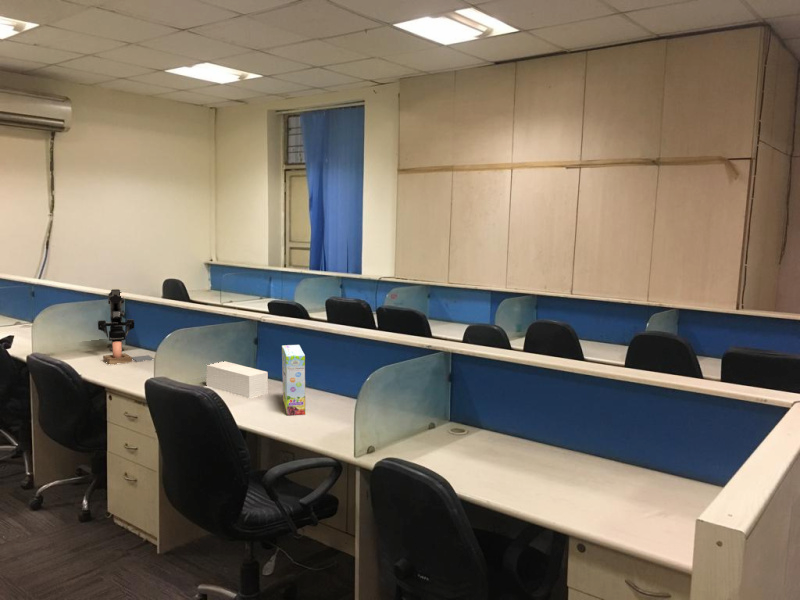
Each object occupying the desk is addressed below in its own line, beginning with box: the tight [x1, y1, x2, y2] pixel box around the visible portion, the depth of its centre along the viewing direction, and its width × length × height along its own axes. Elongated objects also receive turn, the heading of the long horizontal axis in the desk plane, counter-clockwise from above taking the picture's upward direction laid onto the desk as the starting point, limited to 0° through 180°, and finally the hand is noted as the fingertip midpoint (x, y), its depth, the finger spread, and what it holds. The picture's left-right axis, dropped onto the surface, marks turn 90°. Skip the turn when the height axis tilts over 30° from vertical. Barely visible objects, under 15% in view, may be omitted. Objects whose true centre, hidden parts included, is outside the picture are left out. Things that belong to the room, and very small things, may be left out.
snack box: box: [281, 344, 306, 416], centre depth 271 cm, size 22×9×26 cm, turn 15°
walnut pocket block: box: [102, 352, 133, 365], centre depth 348 cm, size 12×12×3 cm
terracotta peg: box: [111, 341, 123, 358], centre depth 347 cm, size 4×4×11 cm
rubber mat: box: [131, 354, 155, 362], centre depth 356 cm, size 10×10×1 cm
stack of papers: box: [205, 360, 269, 400], centre depth 298 cm, size 32×11×11 cm, turn 52°
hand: (116, 336), depth 352 cm, fingers open, 9 cm apart
